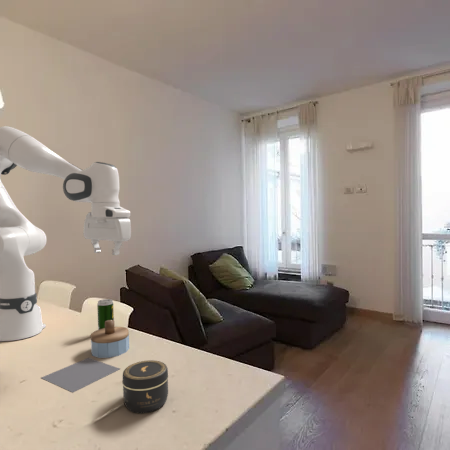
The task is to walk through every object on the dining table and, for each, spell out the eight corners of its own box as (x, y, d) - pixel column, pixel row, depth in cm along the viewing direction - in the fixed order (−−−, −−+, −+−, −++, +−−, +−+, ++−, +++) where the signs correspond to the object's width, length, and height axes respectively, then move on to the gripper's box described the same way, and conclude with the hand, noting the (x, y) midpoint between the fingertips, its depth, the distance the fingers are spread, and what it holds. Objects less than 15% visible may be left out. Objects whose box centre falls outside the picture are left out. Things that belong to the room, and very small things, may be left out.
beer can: (100, 337, 117) (99, 303, 117) (96, 333, 122) (95, 300, 121) (116, 334, 120) (115, 301, 120) (112, 330, 125) (110, 298, 124)
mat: (40, 380, 87) (40, 377, 87) (88, 360, 99) (88, 357, 99) (72, 395, 80) (72, 392, 80) (120, 371, 91) (120, 368, 91)
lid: (83, 339, 103) (82, 323, 102) (112, 328, 112) (112, 314, 112) (106, 346, 97) (106, 329, 96) (136, 334, 106) (135, 319, 106)
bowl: (84, 355, 103) (83, 339, 103) (113, 343, 112) (113, 328, 112) (107, 363, 97) (106, 345, 97) (136, 350, 106) (135, 334, 106)
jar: (126, 420, 70) (125, 383, 69) (120, 396, 79) (119, 364, 79) (173, 408, 74) (172, 373, 73) (163, 387, 83) (162, 356, 83)
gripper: (78, 211, 115) (78, 252, 115) (118, 211, 103) (118, 257, 104) (94, 211, 120) (95, 250, 120) (134, 211, 109) (134, 254, 109)
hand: (106, 253), depth 112 cm, fingers open, 8 cm apart
